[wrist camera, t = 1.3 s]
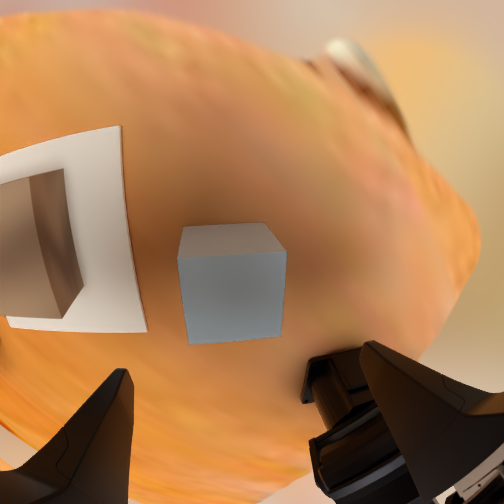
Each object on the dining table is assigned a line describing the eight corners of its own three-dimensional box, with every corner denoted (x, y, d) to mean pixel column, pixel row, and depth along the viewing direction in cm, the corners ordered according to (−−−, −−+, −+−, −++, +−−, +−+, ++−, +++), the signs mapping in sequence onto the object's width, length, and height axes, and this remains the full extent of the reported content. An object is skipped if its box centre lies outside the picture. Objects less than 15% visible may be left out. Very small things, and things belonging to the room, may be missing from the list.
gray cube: (262, 291, 19) (280, 336, 14) (190, 296, 18) (188, 344, 14) (263, 222, 17) (286, 251, 13) (183, 226, 16) (176, 258, 12)
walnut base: (84, 286, 16) (62, 319, 12) (8, 287, 15) (-17, 313, 11) (63, 168, 13) (28, 177, 9) (-14, 188, 12) (-48, 202, 8)
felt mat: (148, 328, 18) (147, 332, 18) (12, 324, 16) (10, 327, 16) (121, 125, 13) (119, 125, 13) (-27, 167, 11) (-30, 168, 11)
